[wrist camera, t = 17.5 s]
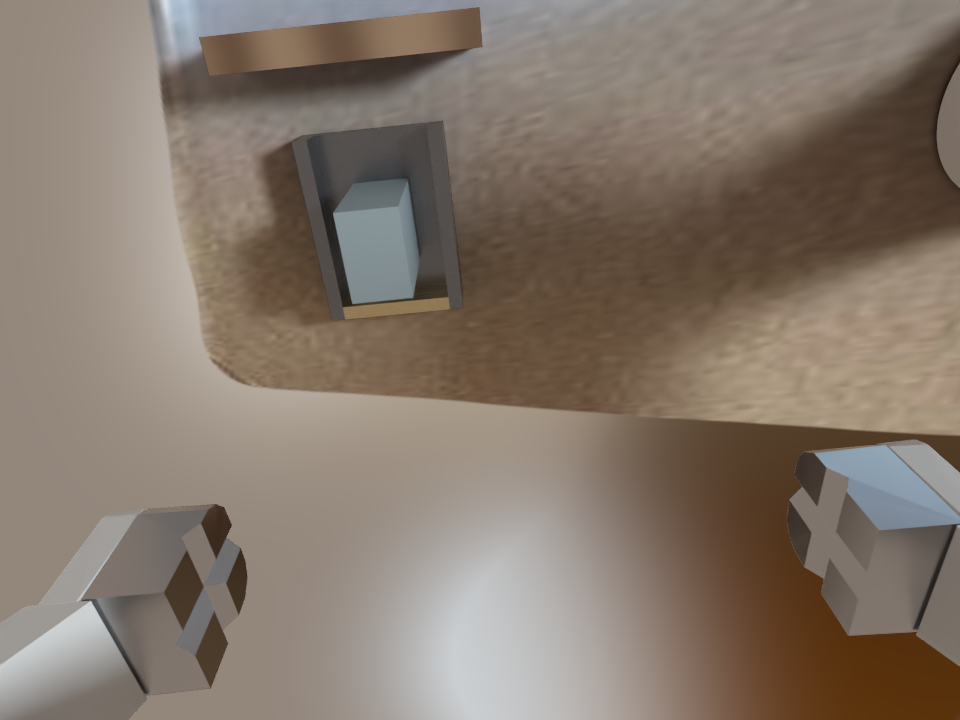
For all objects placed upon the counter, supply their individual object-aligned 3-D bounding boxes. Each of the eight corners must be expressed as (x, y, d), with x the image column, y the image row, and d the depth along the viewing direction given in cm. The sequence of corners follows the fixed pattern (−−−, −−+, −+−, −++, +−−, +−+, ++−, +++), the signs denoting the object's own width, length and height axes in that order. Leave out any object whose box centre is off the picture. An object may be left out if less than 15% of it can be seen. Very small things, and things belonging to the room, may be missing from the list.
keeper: (443, 121, 43) (441, 127, 40) (463, 292, 49) (462, 308, 46) (301, 135, 43) (291, 142, 40) (339, 305, 49) (332, 320, 47)
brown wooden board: (477, 9, 40) (479, 7, 34) (479, 44, 41) (482, 47, 35) (233, 36, 40) (199, 37, 35) (241, 69, 41) (209, 76, 36)
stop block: (408, 177, 44) (398, 206, 37) (420, 257, 47) (413, 297, 40) (353, 183, 44) (332, 213, 37) (368, 262, 47) (352, 303, 40)
